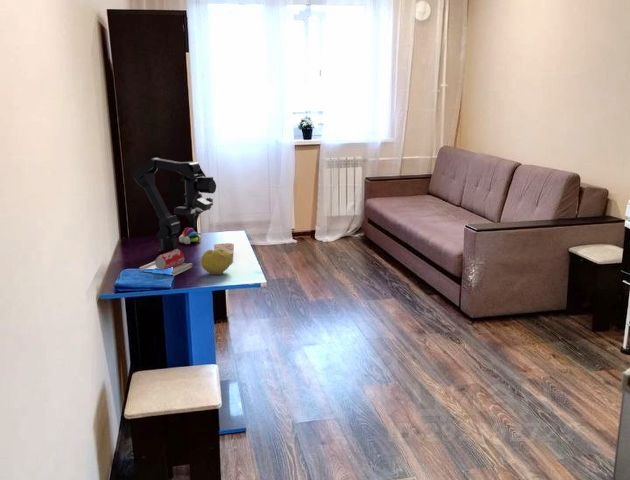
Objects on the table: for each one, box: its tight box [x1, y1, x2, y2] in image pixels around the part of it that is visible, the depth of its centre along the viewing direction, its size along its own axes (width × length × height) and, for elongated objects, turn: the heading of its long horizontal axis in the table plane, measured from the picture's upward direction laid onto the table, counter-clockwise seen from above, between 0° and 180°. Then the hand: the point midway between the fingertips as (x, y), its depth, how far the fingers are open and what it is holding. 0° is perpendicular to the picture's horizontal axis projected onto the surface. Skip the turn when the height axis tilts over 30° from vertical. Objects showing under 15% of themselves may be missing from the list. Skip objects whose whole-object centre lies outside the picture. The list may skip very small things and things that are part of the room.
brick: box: [213, 242, 235, 264], centre depth 254 cm, size 17×8×5 cm, turn 6°
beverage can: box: [154, 248, 185, 270], centre depth 238 cm, size 6×6×12 cm
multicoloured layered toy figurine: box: [178, 227, 202, 245], centre depth 279 cm, size 8×10×7 cm
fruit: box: [200, 249, 232, 276], centre depth 230 cm, size 11×12×10 cm
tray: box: [138, 260, 194, 277], centre depth 237 cm, size 16×13×2 cm
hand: (193, 227), depth 257 cm, fingers closed
